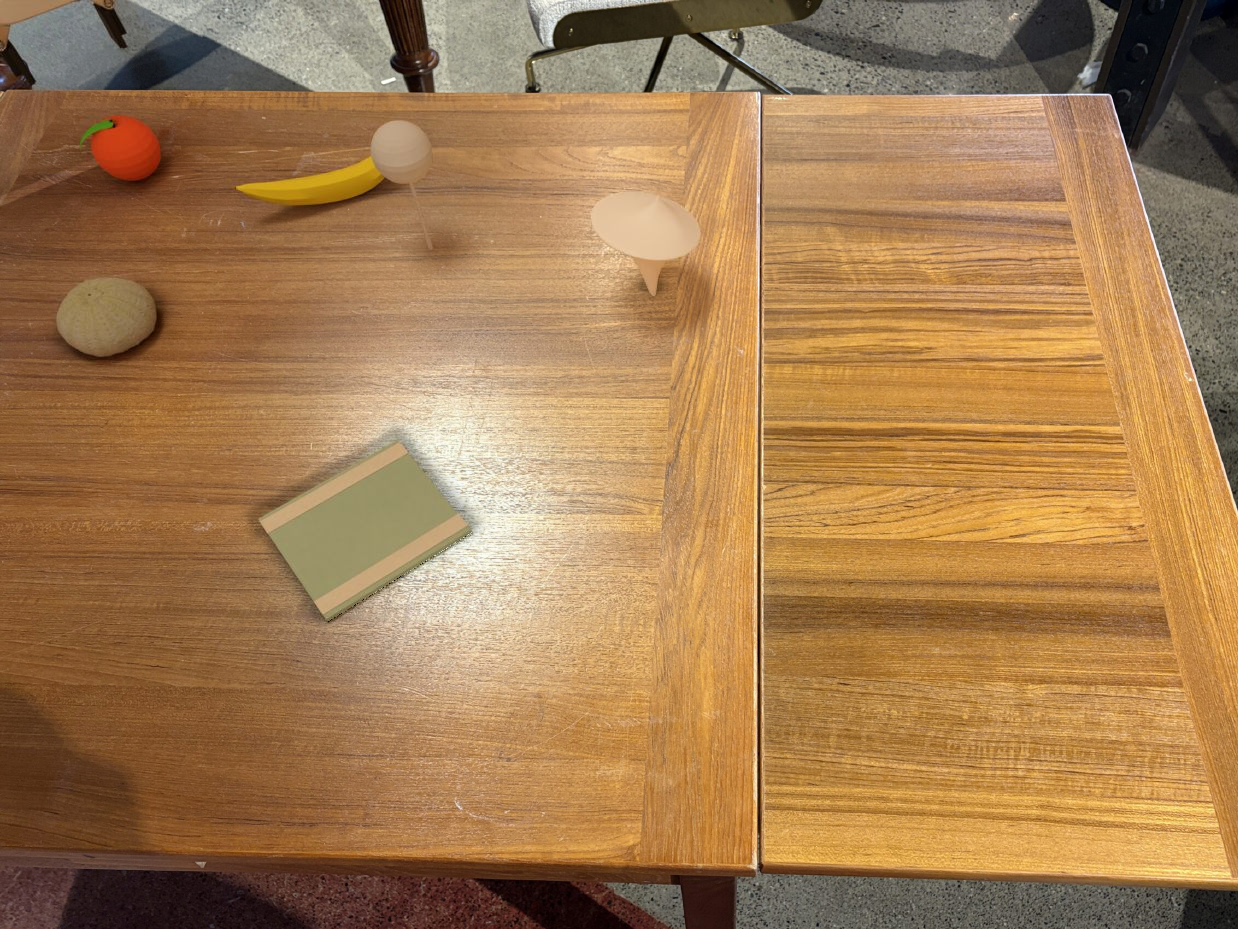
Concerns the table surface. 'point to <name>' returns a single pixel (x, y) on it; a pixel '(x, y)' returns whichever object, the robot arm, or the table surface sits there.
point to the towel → (363, 528)
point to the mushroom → (646, 230)
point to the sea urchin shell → (106, 316)
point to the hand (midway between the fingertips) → (75, 60)
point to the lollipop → (403, 157)
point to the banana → (318, 186)
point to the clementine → (124, 147)
